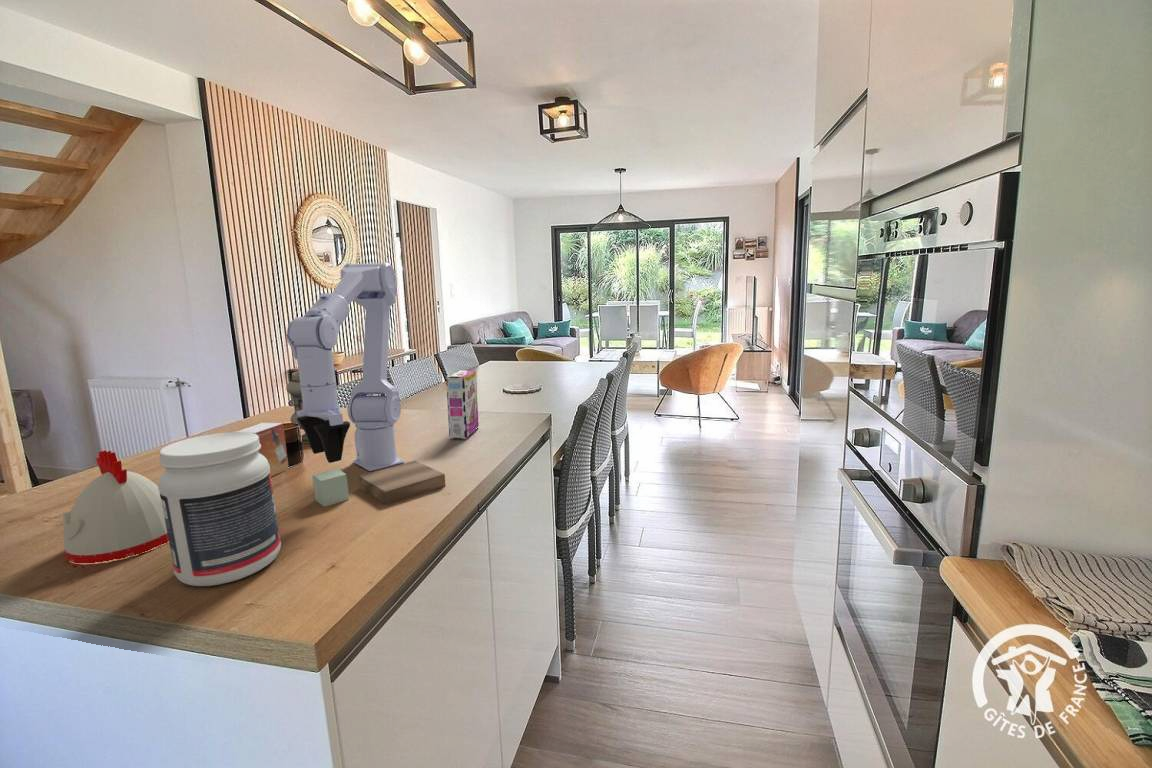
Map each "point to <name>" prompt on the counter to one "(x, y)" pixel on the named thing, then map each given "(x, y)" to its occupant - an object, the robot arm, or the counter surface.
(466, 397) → the candy bar box
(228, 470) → the supplement tub
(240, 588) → the counter surface
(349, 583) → the counter surface
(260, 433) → the small box
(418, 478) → the walnut slab
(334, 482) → the sage block
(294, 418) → the ornate stone vase
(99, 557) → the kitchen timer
